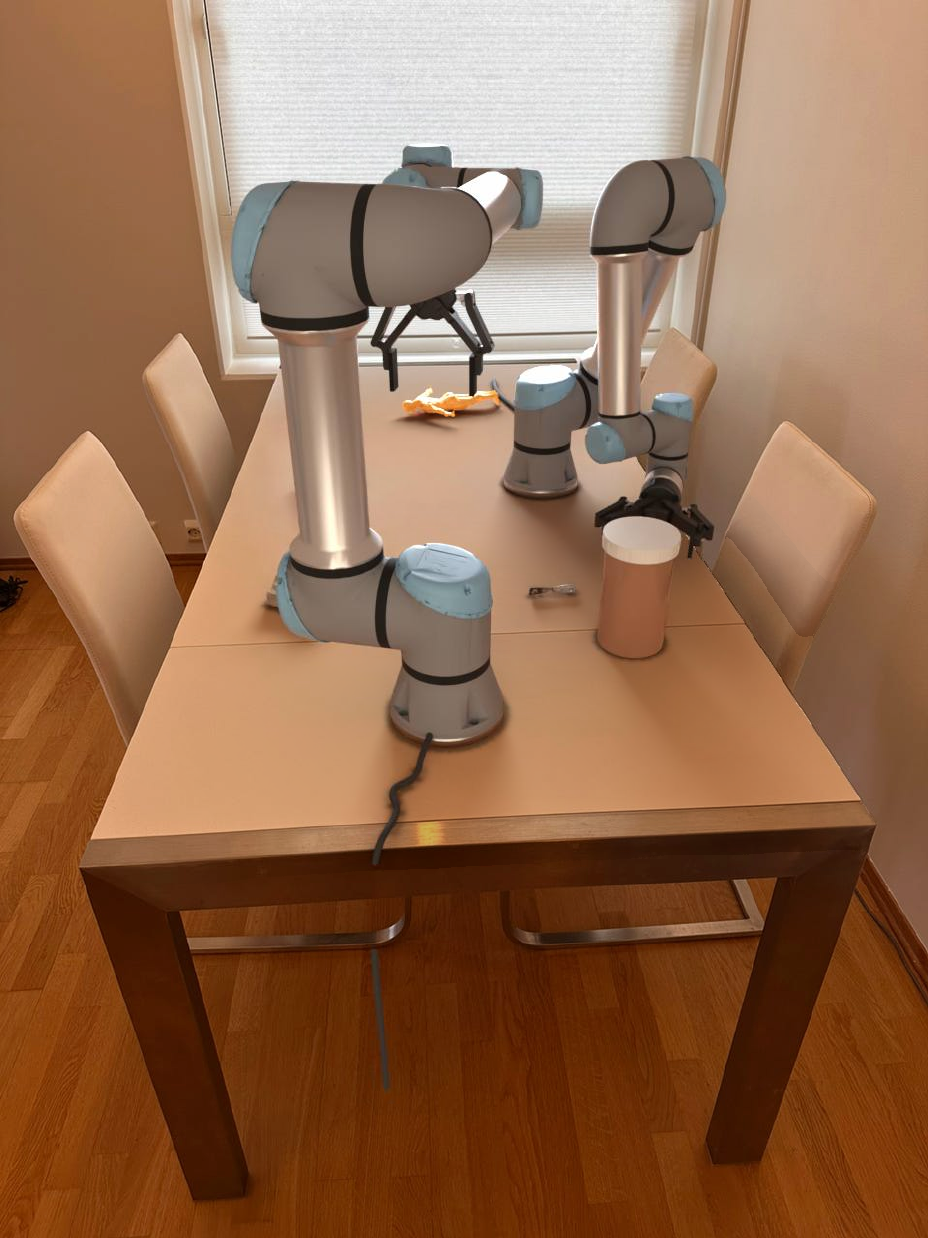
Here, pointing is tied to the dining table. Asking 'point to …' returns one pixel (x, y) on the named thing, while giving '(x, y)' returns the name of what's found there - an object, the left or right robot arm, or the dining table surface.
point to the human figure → (447, 402)
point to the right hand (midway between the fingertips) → (648, 546)
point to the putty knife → (553, 589)
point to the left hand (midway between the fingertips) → (433, 391)
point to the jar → (633, 607)
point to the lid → (641, 540)
